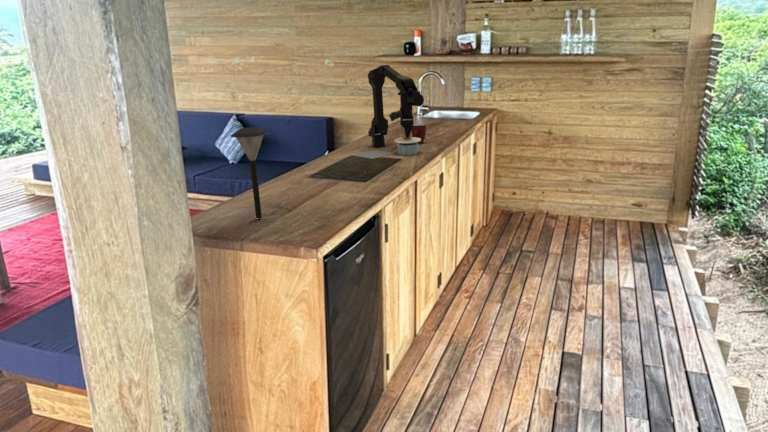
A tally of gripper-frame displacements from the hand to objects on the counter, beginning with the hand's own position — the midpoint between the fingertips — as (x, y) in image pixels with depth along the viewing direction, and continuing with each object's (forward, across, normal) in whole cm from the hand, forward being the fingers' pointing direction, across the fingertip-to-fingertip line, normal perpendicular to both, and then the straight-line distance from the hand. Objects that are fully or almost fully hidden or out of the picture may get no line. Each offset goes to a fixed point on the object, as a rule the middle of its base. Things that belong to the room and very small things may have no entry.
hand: (407, 137), depth 292 cm
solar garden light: (+8, +103, -50) cm, 115 cm away
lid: (+2, 0, 0) cm, 2 cm away
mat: (+8, 0, -17) cm, 19 cm away
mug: (+8, -28, +6) cm, 30 cm away
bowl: (+8, 0, 0) cm, 8 cm away
